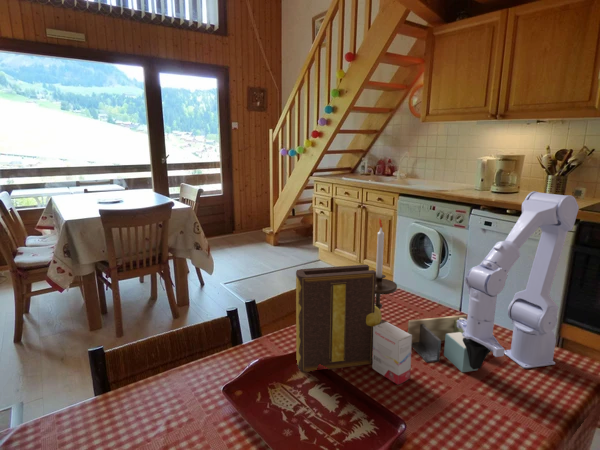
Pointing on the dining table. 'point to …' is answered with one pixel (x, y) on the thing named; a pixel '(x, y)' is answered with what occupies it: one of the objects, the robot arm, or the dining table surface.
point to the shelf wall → (433, 326)
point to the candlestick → (381, 284)
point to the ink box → (392, 352)
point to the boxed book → (457, 351)
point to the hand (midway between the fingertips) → (475, 367)
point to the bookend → (427, 345)
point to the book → (335, 316)
